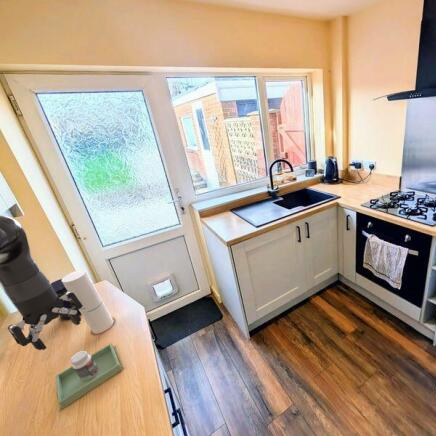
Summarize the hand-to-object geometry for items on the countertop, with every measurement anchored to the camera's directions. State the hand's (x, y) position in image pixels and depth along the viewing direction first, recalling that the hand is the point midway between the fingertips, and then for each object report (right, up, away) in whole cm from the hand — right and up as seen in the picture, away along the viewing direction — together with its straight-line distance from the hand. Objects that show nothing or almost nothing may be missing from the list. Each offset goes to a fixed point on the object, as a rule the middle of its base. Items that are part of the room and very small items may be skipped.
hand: (61, 335), depth 70 cm
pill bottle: (+1, -17, +9) cm, 19 cm away
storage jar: (-29, -8, +38) cm, 49 cm away
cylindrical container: (-10, -10, +28) cm, 32 cm away
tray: (+1, -17, +9) cm, 20 cm away
